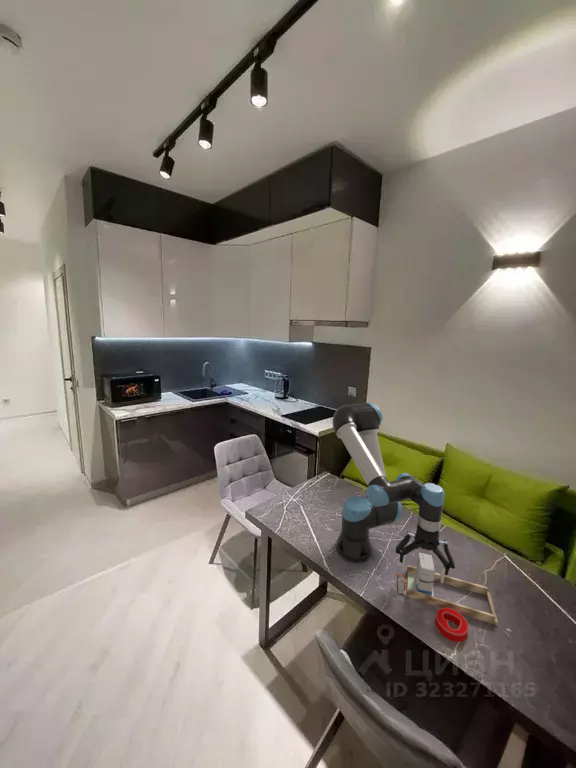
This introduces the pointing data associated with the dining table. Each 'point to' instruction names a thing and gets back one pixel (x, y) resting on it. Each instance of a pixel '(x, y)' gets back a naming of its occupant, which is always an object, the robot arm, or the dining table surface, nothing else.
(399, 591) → the chocolate bar
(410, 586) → the front pad
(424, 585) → the ink box
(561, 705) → the dining table surface
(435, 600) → the bay
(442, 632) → the decorative ornament
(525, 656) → the dining table surface
